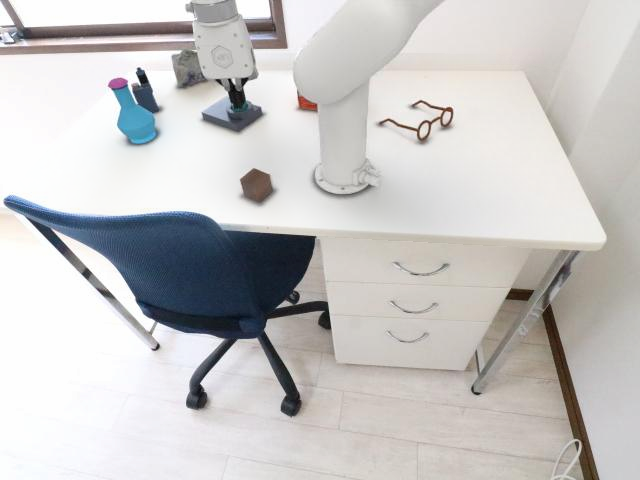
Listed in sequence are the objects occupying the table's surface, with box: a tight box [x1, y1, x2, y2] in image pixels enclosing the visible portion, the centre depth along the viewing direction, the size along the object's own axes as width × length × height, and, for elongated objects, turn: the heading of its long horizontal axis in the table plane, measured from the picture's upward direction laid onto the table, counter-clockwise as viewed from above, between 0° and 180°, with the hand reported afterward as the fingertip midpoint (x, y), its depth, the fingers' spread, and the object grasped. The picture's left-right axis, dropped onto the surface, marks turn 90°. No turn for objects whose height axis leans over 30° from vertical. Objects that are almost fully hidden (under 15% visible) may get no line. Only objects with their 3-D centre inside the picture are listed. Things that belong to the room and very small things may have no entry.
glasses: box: [379, 99, 454, 142], centre depth 93 cm, size 13×13×5 cm
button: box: [231, 103, 247, 111], centre depth 98 cm, size 4×4×2 cm
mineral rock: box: [170, 48, 206, 88], centre depth 115 cm, size 13×11×10 cm
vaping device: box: [130, 66, 160, 114], centre depth 103 cm, size 3×5×12 cm, turn 112°
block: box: [239, 167, 274, 203], centre depth 79 cm, size 4×4×4 cm
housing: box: [200, 95, 263, 133], centre depth 101 cm, size 13×10×4 cm
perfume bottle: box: [107, 77, 157, 145], centre depth 93 cm, size 9×9×15 cm
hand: (239, 106), depth 80 cm, fingers closed
